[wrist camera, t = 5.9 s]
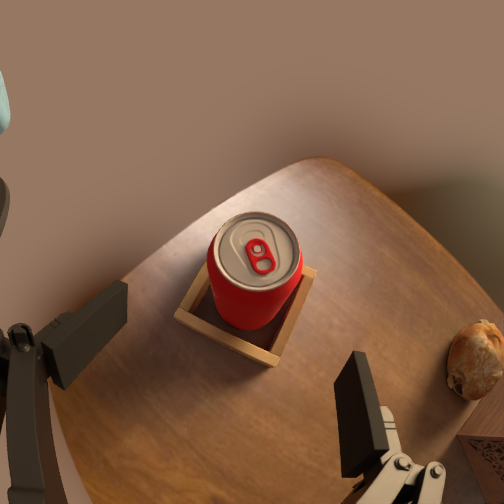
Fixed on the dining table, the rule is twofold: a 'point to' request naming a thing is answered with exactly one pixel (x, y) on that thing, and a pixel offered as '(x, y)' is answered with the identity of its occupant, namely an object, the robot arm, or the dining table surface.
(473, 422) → the tissue box cover
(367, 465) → the robot arm
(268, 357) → the square wooden frame
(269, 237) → the beverage can
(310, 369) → the dining table surface
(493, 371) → the bread roll
